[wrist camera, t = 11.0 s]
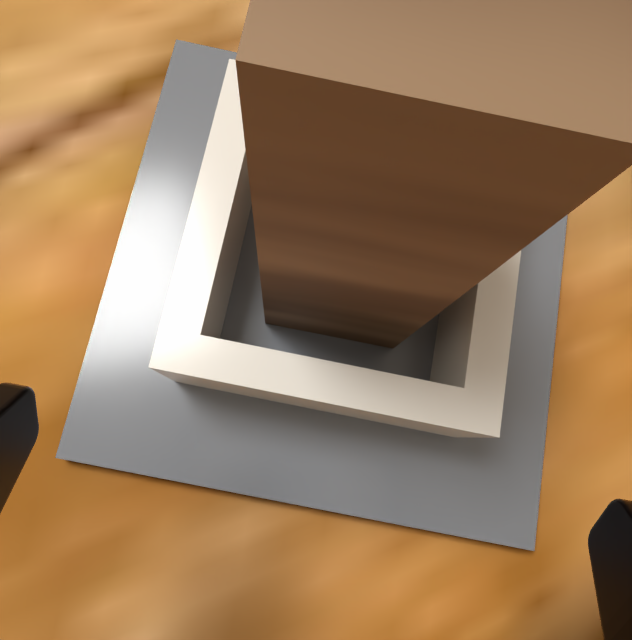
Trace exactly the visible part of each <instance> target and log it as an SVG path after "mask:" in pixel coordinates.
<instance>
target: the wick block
mask: <svg viewBox="0 0 632 640" xmlns="http://www.w3.org/2000/svg"><path fill="white" fill-rule="evenodd" d="M235 61H236V70H237V79H238V88H239V97H240V105H241V114H242V123H243V132H244V141H245V149H246V158H247V167H248V176H249V185H250V193H251V202H252V211H253V220H254V229H255V237H256V246H257V255H258V264H259V273H260V281H261V290H262V299H263V308H264V317H265V323H266V324H271V325H276V326H281V327H286V328H291V329H296V330H302V331H307V332H312V333H317V334H322V335H327V336H332V337H337V338H342V339H347V340H352V341H357V342H362V343H367V344H373V345H378V346H383V347H388V348H395V347H396V346H397V345H398V344H400V343H401V342H402V341H404V340H405V339H406V338H408V337H409V336H410V335H411V334H413V333H414V332H415V331H417V330H418V329H419V328H421V327H422V326H423V325H424V324H426V323H427V322H428V321H430V320H431V319H432V318H434V317H435V316H436V315H437V314H439V313H440V312H441V311H443V310H444V309H445V308H447V307H448V306H449V305H450V304H452V303H453V302H454V301H456V300H457V299H458V298H460V297H461V296H462V295H463V294H465V293H466V292H467V291H469V290H470V289H471V288H473V287H474V286H475V285H476V284H478V283H479V282H480V281H482V280H483V279H484V278H486V277H487V276H488V275H489V274H491V273H492V272H493V271H495V270H496V269H497V268H499V267H500V266H501V265H502V264H504V263H505V262H506V261H508V260H509V259H510V258H512V257H513V256H514V255H515V254H517V253H518V252H519V251H521V250H522V249H523V248H525V247H526V246H527V245H528V244H530V243H531V242H532V241H534V240H535V239H536V238H538V237H539V236H540V235H541V234H543V233H544V232H545V231H547V230H548V229H549V228H551V227H552V226H553V225H554V224H556V223H557V222H558V221H560V220H561V219H562V218H564V217H565V216H566V215H567V214H569V213H570V212H571V211H573V210H574V209H575V208H577V207H578V206H579V205H580V204H582V203H583V202H584V201H586V200H587V199H588V198H590V197H591V196H592V195H593V194H595V193H596V192H597V191H599V190H600V189H601V188H603V187H604V186H605V185H606V184H608V183H609V182H610V181H612V180H613V179H614V178H616V177H617V176H618V175H619V174H621V173H622V172H623V171H625V170H626V169H627V168H628V167H630V166H631V165H632V0H250V4H249V8H248V12H247V16H246V20H245V24H244V28H243V32H242V36H241V40H240V43H239V47H238V51H237V55H236V59H235Z"/></svg>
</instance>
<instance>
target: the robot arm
mask: <svg viewBox="0 0 632 640" xmlns="http://www.w3.org/2000/svg"><path fill="white" fill-rule="evenodd" d="M38 430H39V424H38V416H37V408H36V400H35V394H34V391H33V390H32V388H30V387H28V386H23V385H18V384H12V383H1V384H0V513H1V511H2V509H3V507H4V505H5V503H6V501H7V499H8V497H9V495H10V493H11V491H12V489H13V487H14V485H15V483H16V481H17V479H18V477H19V475H20V472H21V470H22V468H23V466H24V464H25V462H26V460H27V458H28V456H29V454H30V452H31V450H32V448H33V446H34V444H35V442H36V439H37V436H38ZM588 547H589V554H590V560H591V566H592V572H593V578H594V584H595V590H596V596H597V602H598V608H599V614H600V620H601V626H602V631H603V636H604V640H632V501H629V500H623V499H615V500H613V501H612V502H611V503H610V504H609V505H608V506H607V508H606V509H605V511H604V512H603V513H602V515H601V516H600V518H599V519H598V520H597V522H596V523H595V525H594V526H593V527H592V529H591V531H590V534H589V538H588Z"/></svg>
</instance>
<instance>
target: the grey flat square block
mask: <svg viewBox="0 0 632 640" xmlns="http://www.w3.org/2000/svg"><path fill="white" fill-rule="evenodd" d="M236 55H237V53H236V52H232V51H227V50H222V49H218V48H213V47H208V46H204V45H199V44H194V43H190V42H185V41H180V40H176V43H175V46H174V50H173V53H172V57H171V60H170V64H169V67H168V71H167V74H166V77H165V81H164V84H163V88H162V91H161V95H160V98H159V102H158V105H157V109H156V112H155V115H154V119H153V122H152V126H151V129H150V133H149V136H148V140H147V143H146V147H145V150H144V153H143V157H142V160H141V164H140V167H139V171H138V174H137V178H136V181H135V185H134V188H133V191H132V195H131V198H130V202H129V205H128V209H127V212H126V216H125V219H124V223H123V226H122V229H121V233H120V236H119V240H118V243H117V247H116V250H115V254H114V257H113V261H112V264H111V267H110V271H109V274H108V278H107V281H106V285H105V288H104V292H103V295H102V299H101V302H100V305H99V309H98V312H97V316H96V319H95V323H94V326H93V330H92V333H91V337H90V340H89V343H88V347H87V350H86V354H85V357H84V361H83V364H82V368H81V371H80V375H79V378H78V381H77V385H76V388H75V392H74V395H73V399H72V402H71V406H70V409H69V413H68V416H67V419H66V423H65V426H64V430H63V433H62V437H61V440H60V444H59V447H58V451H57V454H56V457H55V458H59V459H65V460H70V461H75V462H80V463H85V464H90V465H95V466H100V467H106V468H111V469H116V470H121V471H126V472H131V473H136V474H141V475H146V476H152V477H157V478H162V479H167V480H172V481H177V482H182V483H187V484H193V485H198V486H203V487H208V488H213V489H218V490H223V491H228V492H234V493H239V494H244V495H249V496H254V497H259V498H264V499H269V500H275V501H280V502H285V503H290V504H295V505H300V506H305V507H310V508H316V509H321V510H326V511H331V512H336V513H341V514H346V515H351V516H357V517H362V518H367V519H372V520H377V521H382V522H387V523H392V524H398V525H403V526H408V527H413V528H418V529H423V530H428V531H433V532H439V533H444V534H449V535H454V536H459V537H464V538H469V539H474V540H480V541H485V542H490V543H495V544H500V545H505V546H510V547H515V548H521V549H526V550H531V551H534V550H535V540H536V530H537V519H538V509H539V499H540V489H541V479H542V469H543V458H544V448H545V438H546V428H547V418H548V408H549V397H550V387H551V377H552V367H553V357H554V347H555V336H556V326H557V316H558V306H559V296H560V286H561V275H562V265H563V255H564V245H565V235H566V225H567V215H566V216H565V217H564V218H562V219H561V220H560V221H558V222H557V223H556V224H554V225H553V226H552V227H551V228H549V229H548V230H547V231H545V232H544V233H543V234H541V235H540V236H539V237H538V238H536V239H535V240H534V241H532V242H531V243H530V244H528V245H527V246H526V247H525V248H523V249H522V250H521V251H519V252H518V253H517V254H515V255H514V256H513V257H512V258H510V259H509V260H508V261H506V262H505V263H504V264H502V265H501V266H500V267H499V268H497V269H496V270H495V271H493V272H492V273H491V274H489V275H488V276H487V277H486V278H484V279H483V280H482V281H480V282H479V283H478V284H476V285H475V286H474V287H473V288H471V289H470V290H469V291H467V292H466V293H465V294H463V295H462V296H461V297H460V298H458V299H457V300H456V301H454V302H453V303H452V304H450V305H449V306H448V307H447V308H445V309H444V310H443V311H441V312H440V313H439V314H437V315H436V316H435V317H434V318H432V319H431V320H430V321H428V322H427V323H426V324H424V325H423V326H422V327H421V328H419V329H418V330H417V331H415V332H414V333H413V334H411V335H410V336H409V337H408V338H406V339H405V340H404V341H402V342H401V343H400V344H398V345H397V346H396V347H395V348H388V347H383V346H378V345H373V344H367V343H362V342H357V341H352V340H347V339H342V338H337V337H332V336H327V335H322V334H317V333H312V332H307V331H302V330H296V329H291V328H286V327H281V326H276V325H271V324H266V323H265V317H264V308H263V299H262V290H261V281H260V273H259V264H258V255H257V246H256V237H255V229H254V220H253V211H252V202H251V193H250V185H249V176H248V167H247V158H246V149H245V141H244V132H243V123H242V114H241V105H240V97H239V88H238V79H237V70H236V61H235V59H236Z"/></svg>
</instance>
